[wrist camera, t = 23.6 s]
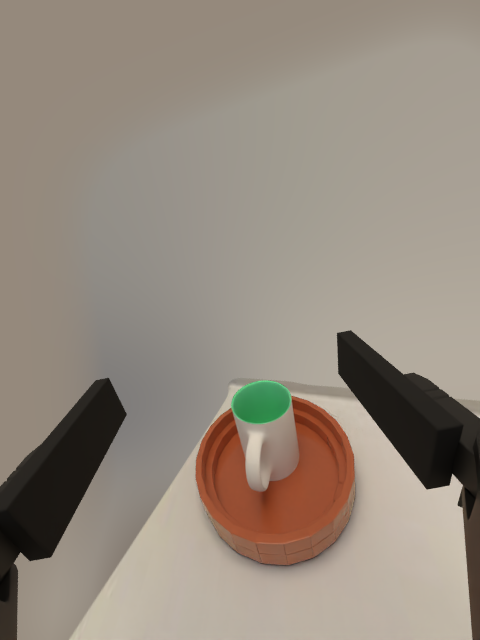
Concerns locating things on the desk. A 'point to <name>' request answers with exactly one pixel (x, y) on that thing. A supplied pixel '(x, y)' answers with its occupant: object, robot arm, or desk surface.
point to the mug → (266, 432)
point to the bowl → (279, 490)
